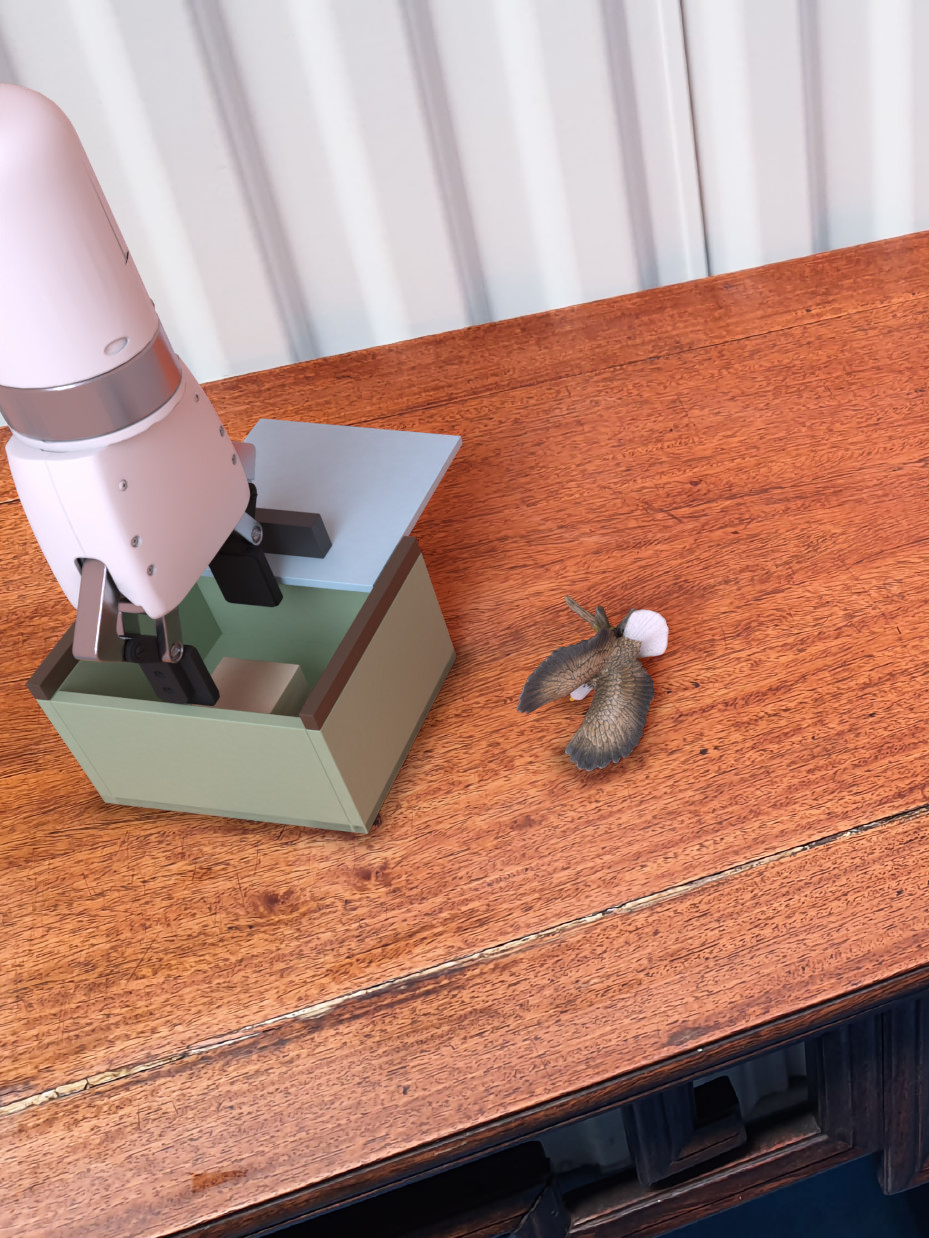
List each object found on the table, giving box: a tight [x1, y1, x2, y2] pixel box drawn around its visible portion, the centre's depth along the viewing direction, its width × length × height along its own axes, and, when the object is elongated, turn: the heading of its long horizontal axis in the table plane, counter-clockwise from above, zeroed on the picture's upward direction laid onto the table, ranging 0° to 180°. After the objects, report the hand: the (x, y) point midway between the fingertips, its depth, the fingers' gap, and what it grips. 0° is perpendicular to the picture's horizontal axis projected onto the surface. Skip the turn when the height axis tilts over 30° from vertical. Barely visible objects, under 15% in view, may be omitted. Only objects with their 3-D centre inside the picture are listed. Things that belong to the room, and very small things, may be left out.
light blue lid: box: [201, 417, 464, 593], centre depth 82 cm, size 13×14×3 cm
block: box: [192, 657, 312, 717], centre depth 79 cm, size 5×5×5 cm
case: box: [25, 535, 457, 835], centre depth 79 cm, size 16×14×10 cm
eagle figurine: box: [515, 595, 670, 773], centre depth 81 cm, size 8×7×9 cm
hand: (223, 647), depth 75 cm, fingers open, 6 cm apart
